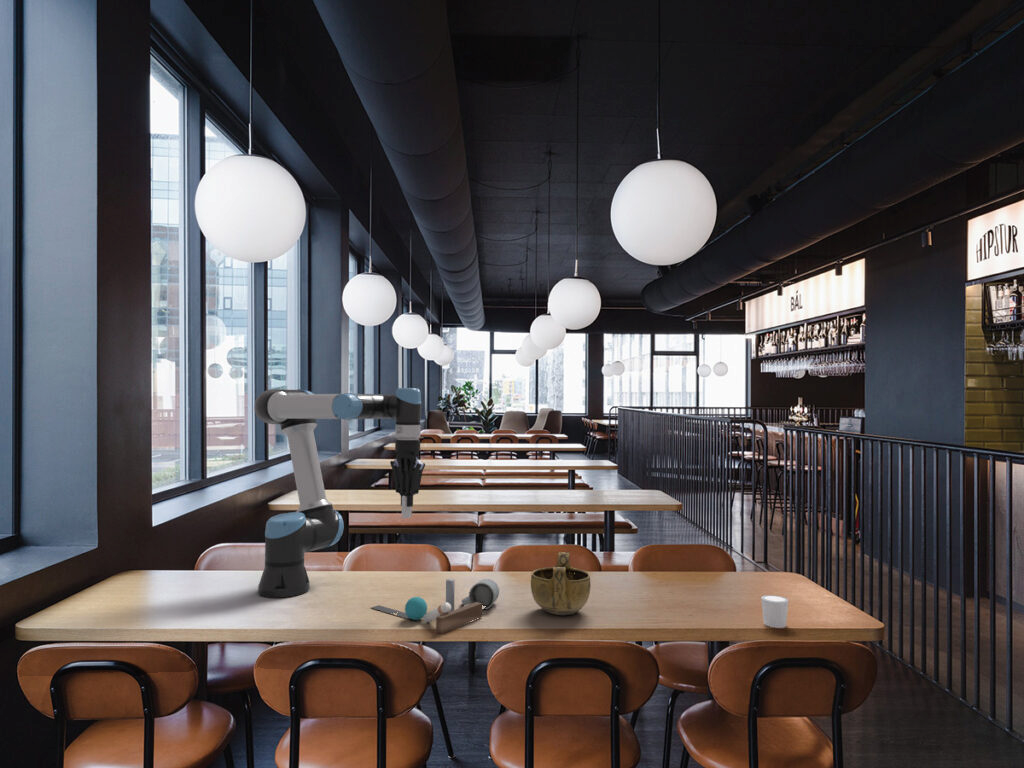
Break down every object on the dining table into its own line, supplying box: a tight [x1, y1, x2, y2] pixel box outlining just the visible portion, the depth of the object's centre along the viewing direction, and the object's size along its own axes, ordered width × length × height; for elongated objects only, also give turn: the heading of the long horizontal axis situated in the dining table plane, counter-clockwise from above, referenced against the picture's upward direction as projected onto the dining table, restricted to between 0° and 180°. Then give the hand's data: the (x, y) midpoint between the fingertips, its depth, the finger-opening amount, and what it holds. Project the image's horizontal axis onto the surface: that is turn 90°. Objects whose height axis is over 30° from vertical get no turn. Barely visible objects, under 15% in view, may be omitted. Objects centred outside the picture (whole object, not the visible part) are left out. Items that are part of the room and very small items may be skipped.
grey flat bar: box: [370, 604, 410, 620], centre depth 182 cm, size 16×3×1 cm, turn 53°
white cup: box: [760, 594, 789, 629], centre depth 176 cm, size 7×7×7 cm
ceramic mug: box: [461, 578, 500, 610], centre depth 190 cm, size 11×8×8 cm
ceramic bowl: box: [530, 551, 591, 616], centre depth 184 cm, size 22×17×15 cm
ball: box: [404, 596, 428, 621], centre depth 177 cm, size 6×6×6 cm
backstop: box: [435, 602, 483, 635], centre depth 173 cm, size 2×16×4 cm, turn 143°
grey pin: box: [445, 578, 456, 613], centre depth 183 cm, size 2×2×9 cm
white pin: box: [422, 601, 451, 623], centre depth 172 cm, size 2×2×9 cm
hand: (406, 517), depth 196 cm, fingers closed
